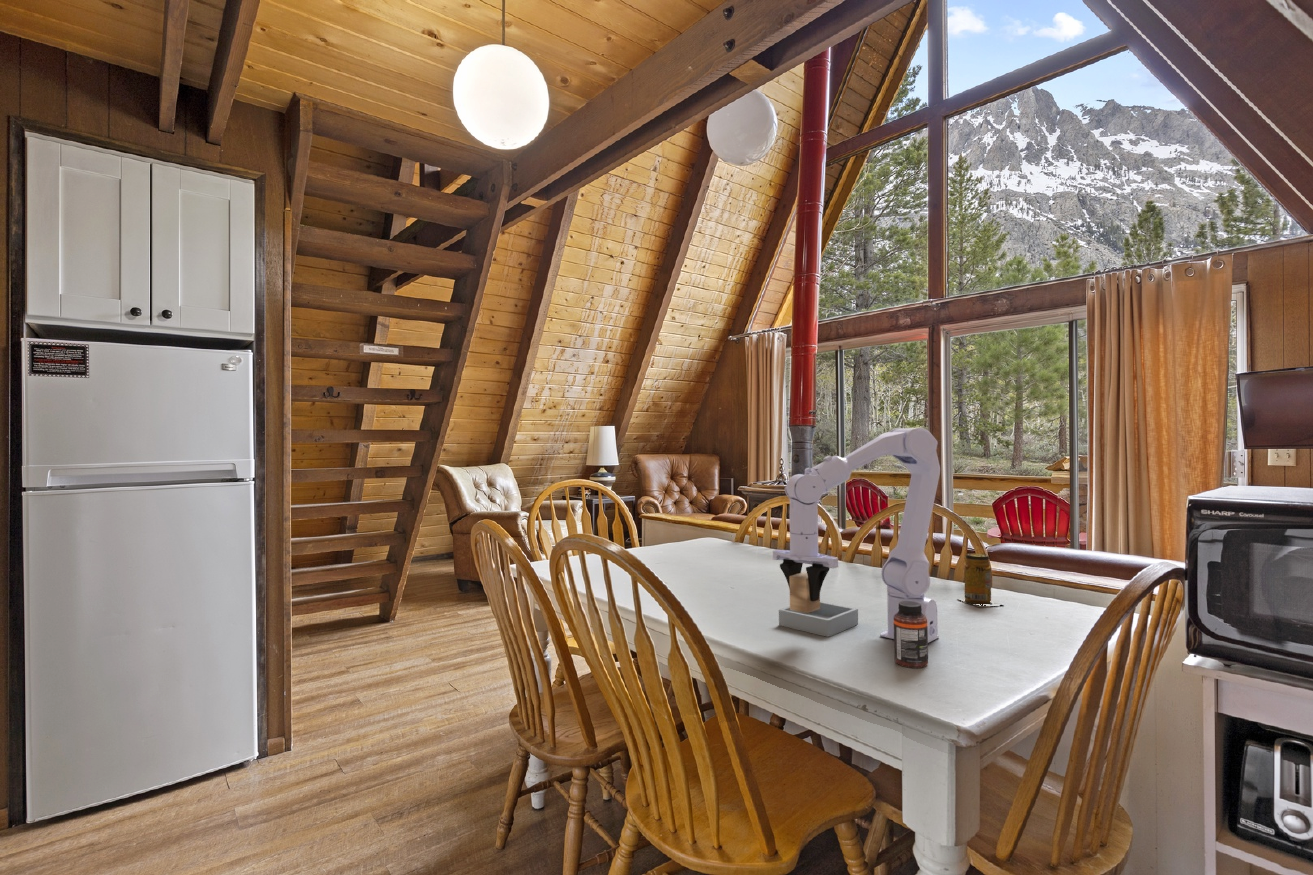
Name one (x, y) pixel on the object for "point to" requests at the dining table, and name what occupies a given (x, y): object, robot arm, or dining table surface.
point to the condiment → (977, 580)
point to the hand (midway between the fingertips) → (804, 598)
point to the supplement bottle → (910, 635)
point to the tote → (820, 619)
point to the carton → (801, 594)
